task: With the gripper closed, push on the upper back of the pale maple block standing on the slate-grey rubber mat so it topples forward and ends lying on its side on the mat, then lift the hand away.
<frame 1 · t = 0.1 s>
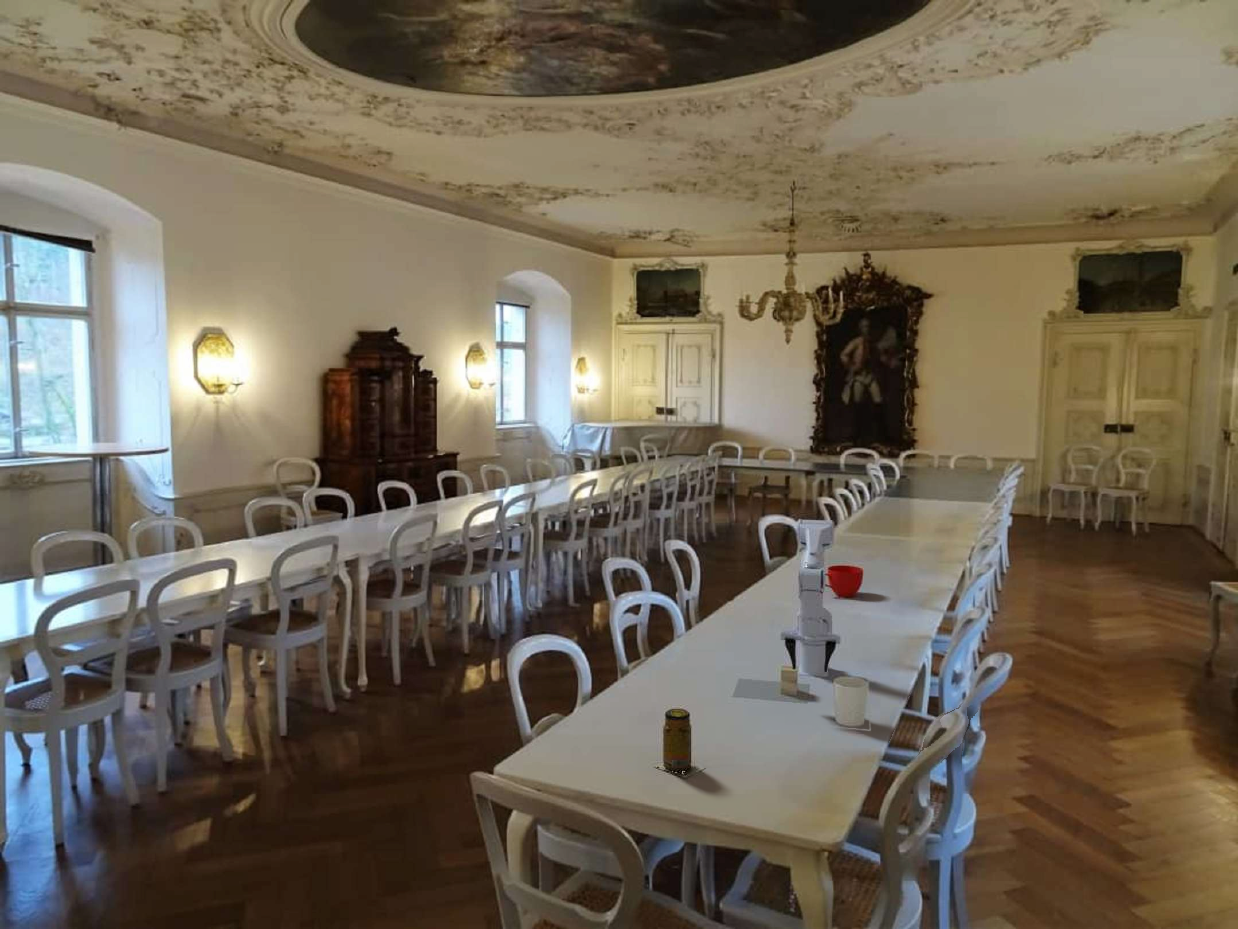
hand: (809, 669, 221), 10 cm above the table, tool pointing down, fingers open, 7 cm apart
white cup: (849, 723, 213), on the table
maple block: (789, 691, 232), resting on rubber mat
condiment: (679, 768, 189), on the table
rubber mat: (771, 691, 233), on the table
ceramic cup: (840, 596, 333), on the table
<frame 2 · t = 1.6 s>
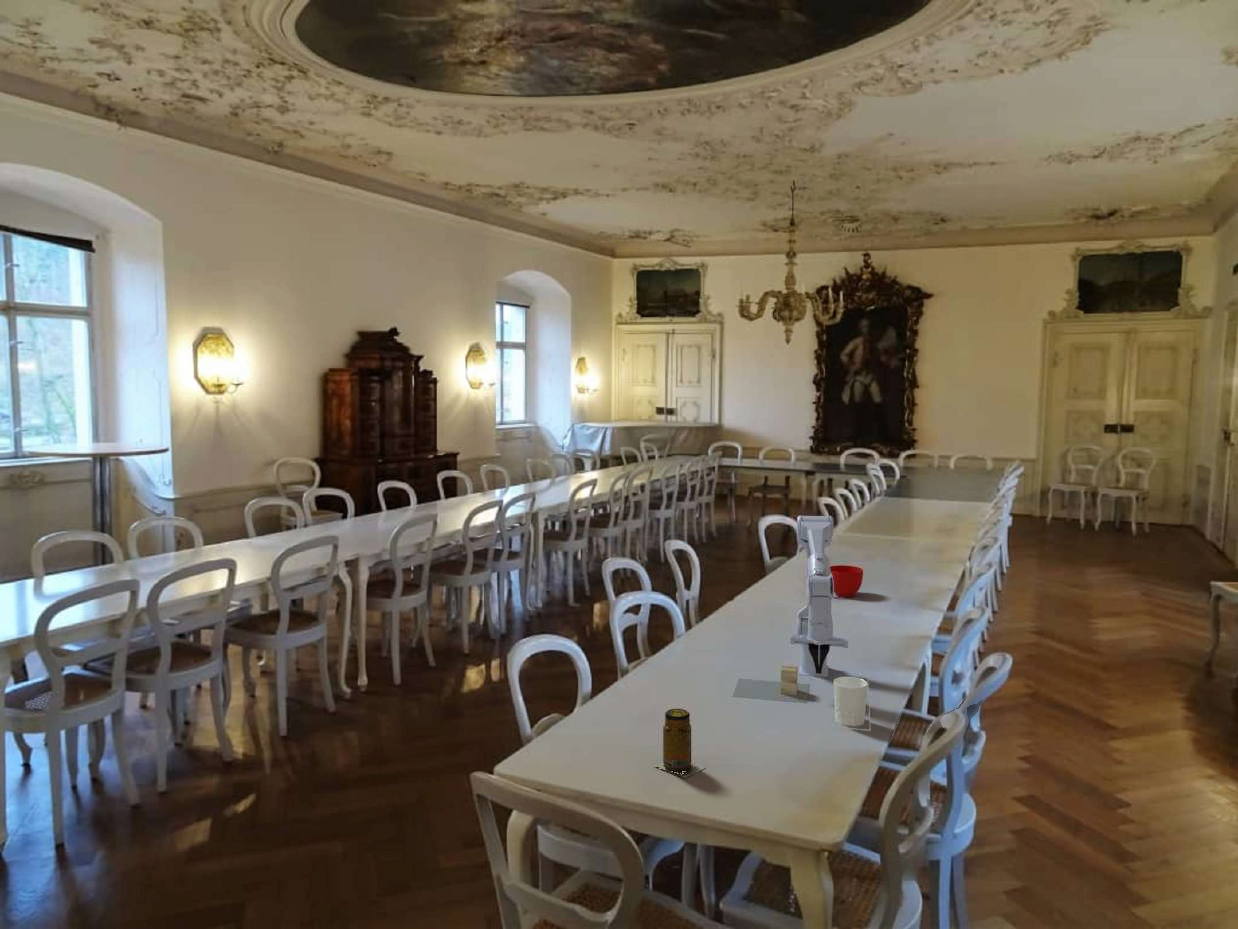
hand: (818, 672, 229), 6 cm above the table, tool pointing down, fingers closed
nothing on the table moved.
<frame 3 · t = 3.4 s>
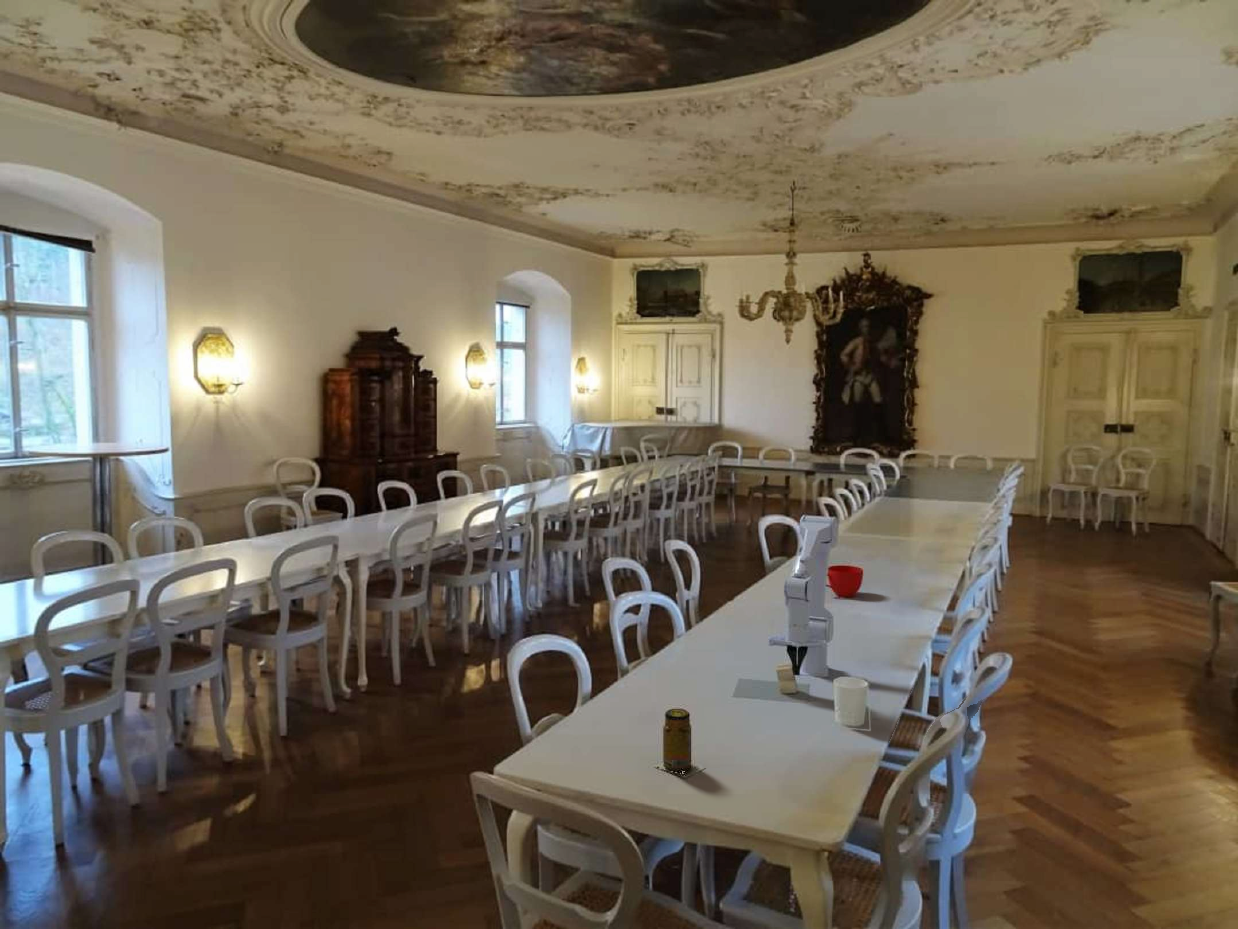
hand: (796, 673, 231), 5 cm above the table, tool pointing down, fingers closed
maple block: (788, 690, 232), point 1 cm above the table, tilted 11°, touching gripper, rubber mat
everything else where it was.
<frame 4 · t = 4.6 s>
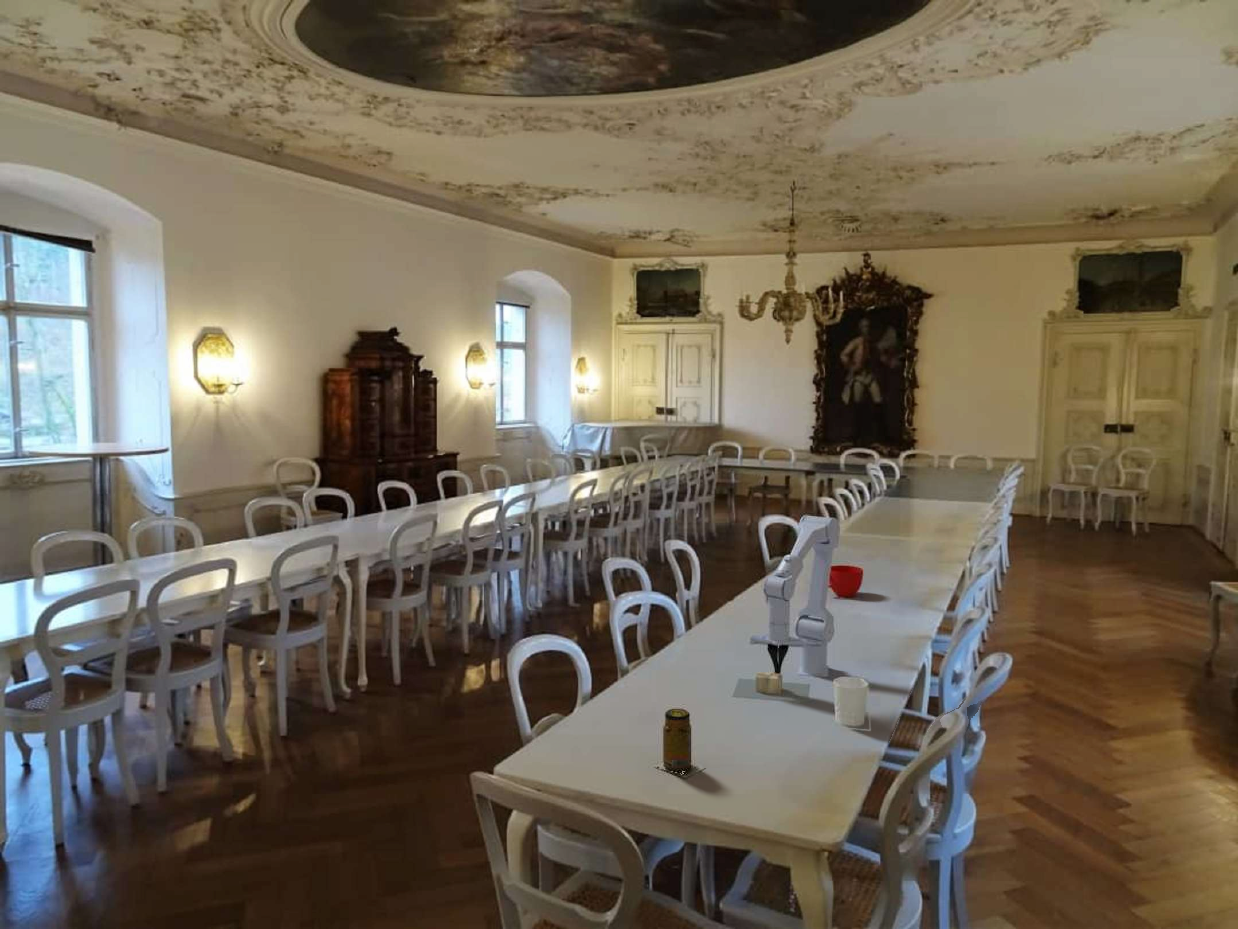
hand: (777, 672, 232), 5 cm above the table, tool pointing down, fingers closed
maple block: (781, 683, 232), point 2 cm above the table, tilted 90°, touching rubber mat
everything else where it was.
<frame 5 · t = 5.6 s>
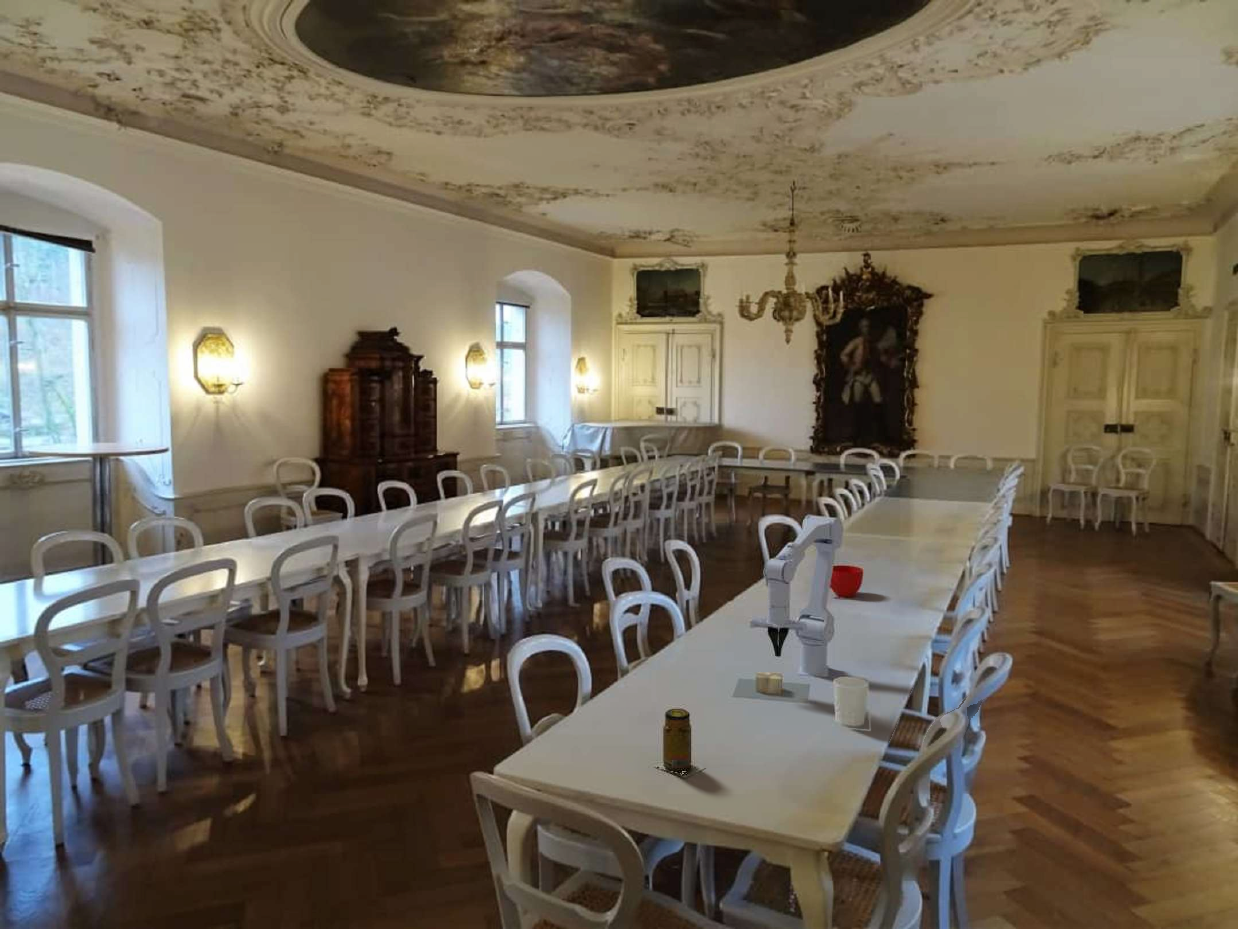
hand: (778, 655, 232), 10 cm above the table, tool pointing down, fingers closed
nothing on the table moved.
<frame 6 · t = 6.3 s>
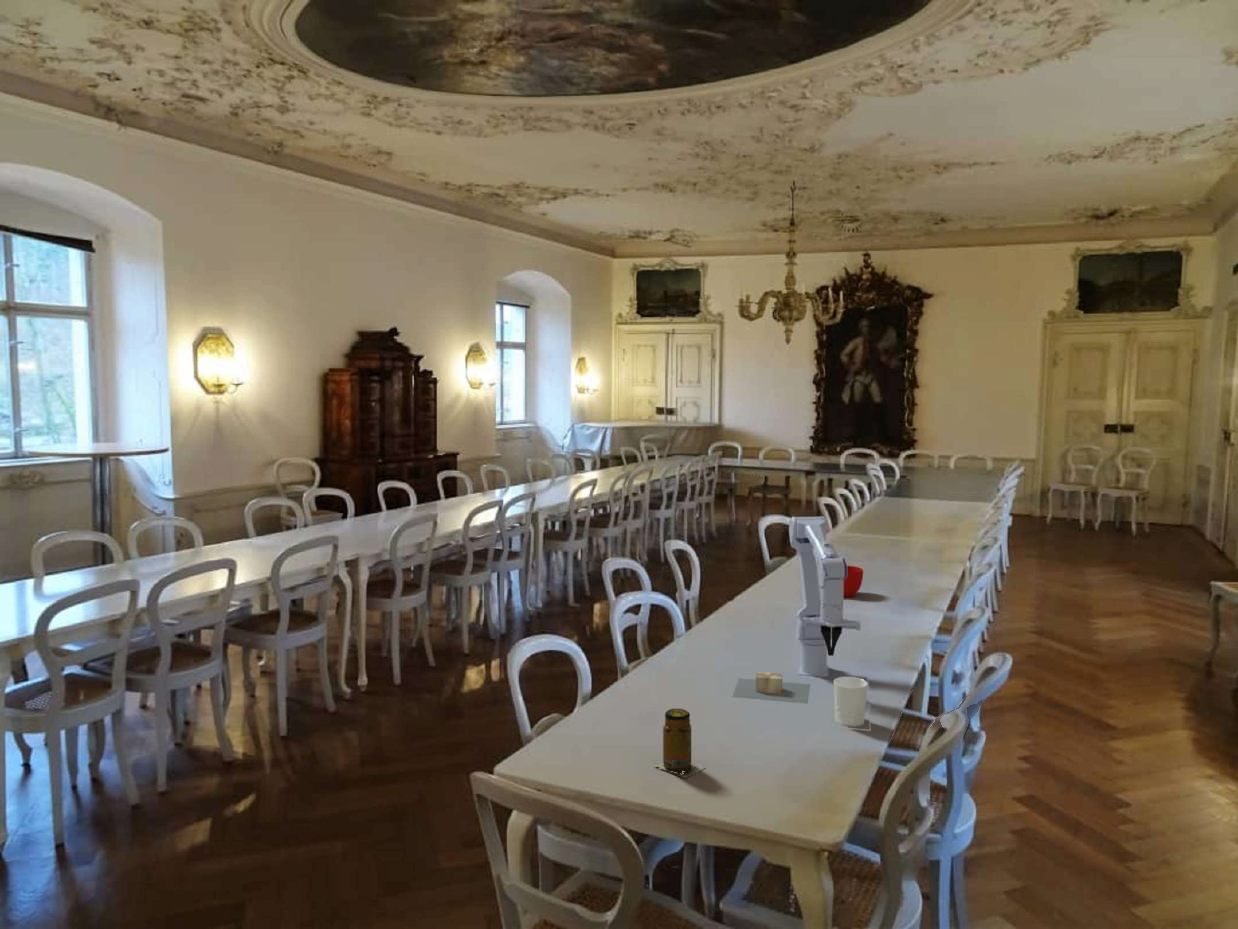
hand: (830, 654, 231), 10 cm above the table, tool pointing down, fingers closed
nothing on the table moved.
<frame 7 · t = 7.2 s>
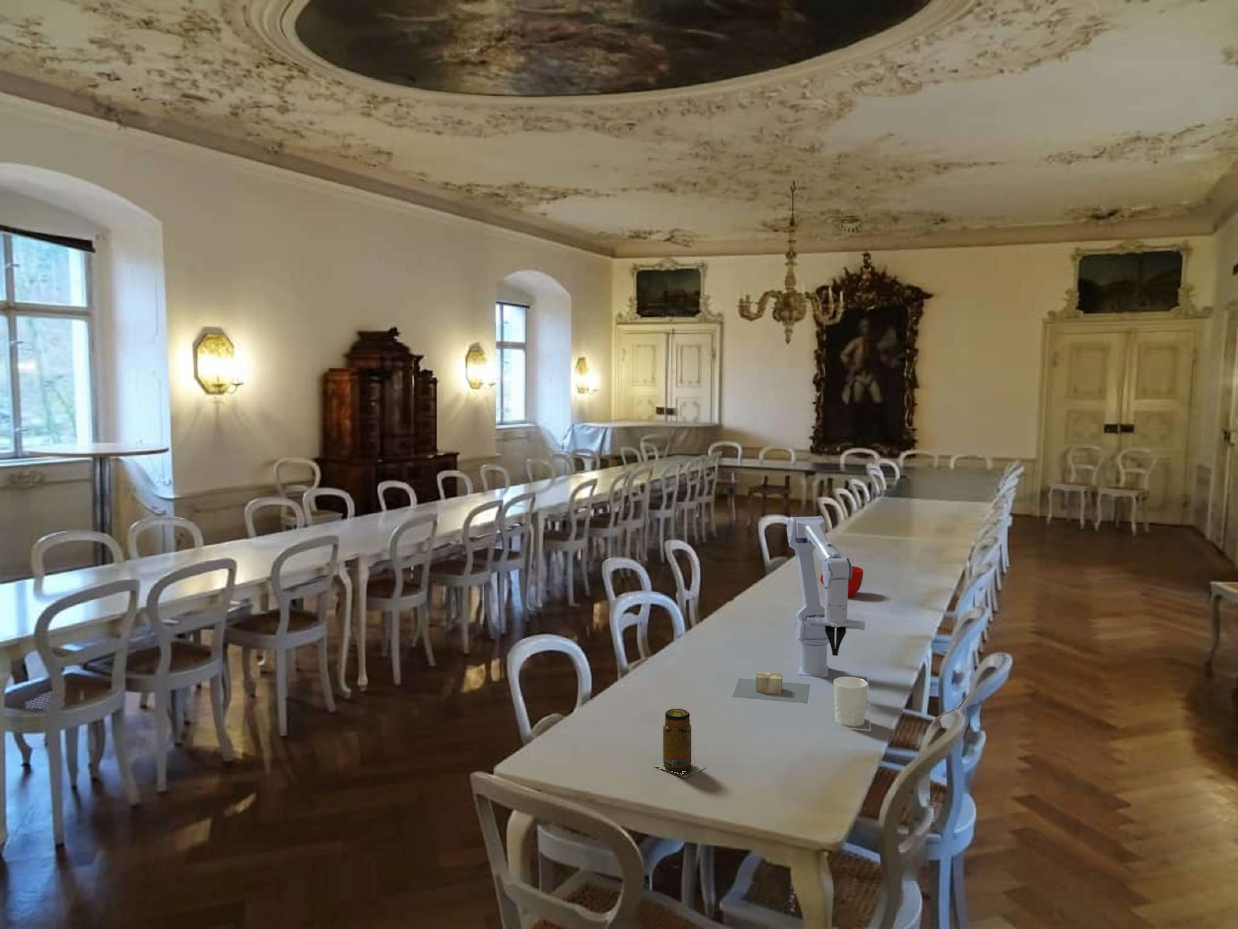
hand: (835, 654, 231), 10 cm above the table, tool pointing down, fingers closed
nothing on the table moved.
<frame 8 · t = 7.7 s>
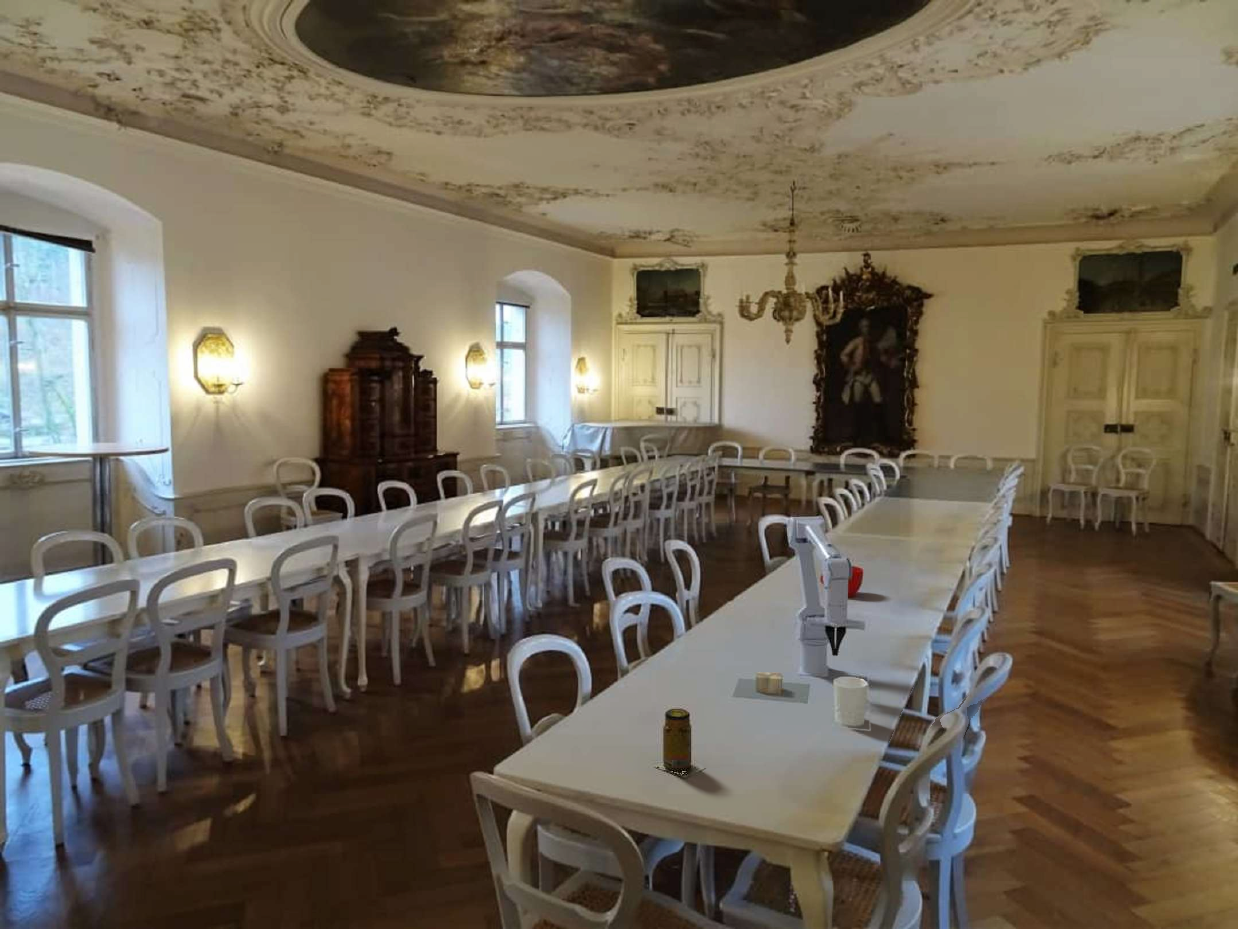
hand: (835, 654, 231), 10 cm above the table, tool pointing down, fingers closed
nothing on the table moved.
at the end: maple block tilted 90°; maple block inside the target area on the rubber mat (2.0 cm from its centre), point 2.4 cm above the rubber mat's base; maple block touching rubber mat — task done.
